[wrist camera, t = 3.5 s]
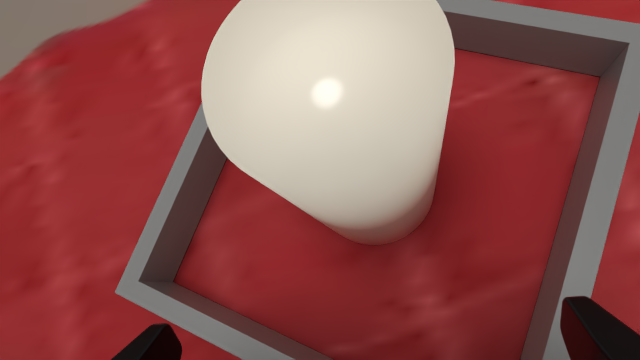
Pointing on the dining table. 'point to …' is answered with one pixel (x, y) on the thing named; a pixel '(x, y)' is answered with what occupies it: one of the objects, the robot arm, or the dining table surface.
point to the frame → (468, 34)
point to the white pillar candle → (335, 106)
